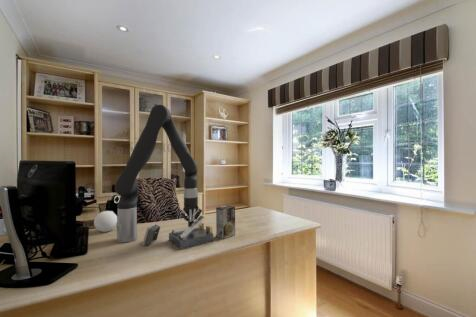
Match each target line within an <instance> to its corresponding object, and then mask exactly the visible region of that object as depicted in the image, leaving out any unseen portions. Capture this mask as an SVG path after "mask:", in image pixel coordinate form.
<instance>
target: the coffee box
mask: <svg viewBox="0 0 476 317" xmlns="http://www.w3.org/2000/svg"><path fill="white" fill-rule="evenodd" d="M215 208H216V209H215V212H216V213H215V216H216V217H215V218H216V220H215V221H216V222H215V223H216V224H215V226H216V230H215V231H216V234H215V235H216V237H218V238H220V239H223V240H224V239H227V238H231V237H233V236H235V235H236V207H235V206H234V205H230V204H225V205H221V206H218V207H215Z"/></svg>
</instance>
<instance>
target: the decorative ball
mask: <svg viewBox="0 0 476 317" xmlns="http://www.w3.org/2000/svg"><path fill="white" fill-rule="evenodd" d="M117 222H118V215H117V214H116V213H115V212H114V211H113V210H103V211H101V212H99V213H98V214H97V215H96V216H95V218H94V220H93V226H94V228H95V229H96V230H98V231H99V232H101V233H102V232H105V233H106V232H110V231H112V230H113V229H114V228H115V227H117Z"/></svg>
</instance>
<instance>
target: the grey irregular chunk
mask: <svg viewBox="0 0 476 317" xmlns="http://www.w3.org/2000/svg"><path fill="white" fill-rule="evenodd" d="M160 229H161V226H160V225H157V223H156V222H154V223H152V224H151V225H149V226H148V227H147V228H146V230H145V234H144V238H143V241H142V246H151V245H153V244H154V243H155V242H156V241H157V240H158V236H159V232H160Z"/></svg>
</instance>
